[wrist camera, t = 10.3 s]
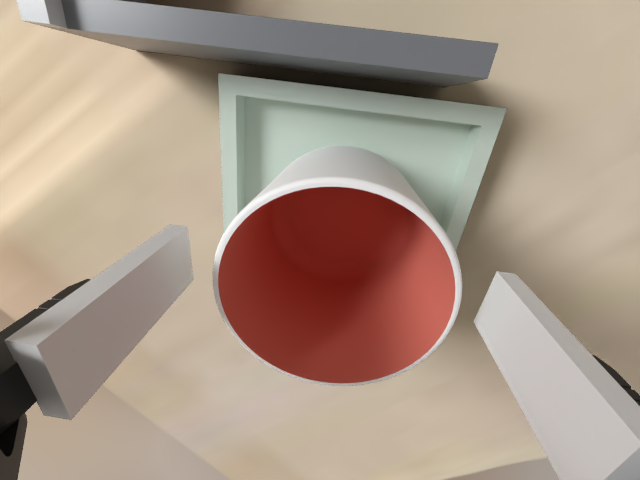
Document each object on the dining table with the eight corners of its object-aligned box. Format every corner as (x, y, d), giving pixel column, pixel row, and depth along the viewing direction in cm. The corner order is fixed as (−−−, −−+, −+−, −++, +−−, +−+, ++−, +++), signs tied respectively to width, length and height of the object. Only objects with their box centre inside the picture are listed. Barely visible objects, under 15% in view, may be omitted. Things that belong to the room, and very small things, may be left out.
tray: (231, 76, 18) (218, 73, 16) (490, 108, 17) (507, 108, 15) (235, 287, 25) (226, 302, 23) (420, 315, 24) (426, 332, 22)
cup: (243, 193, 21) (160, 261, 12) (367, 109, 18) (385, 113, 8) (319, 294, 24) (300, 410, 15) (435, 238, 21) (503, 341, 12)
